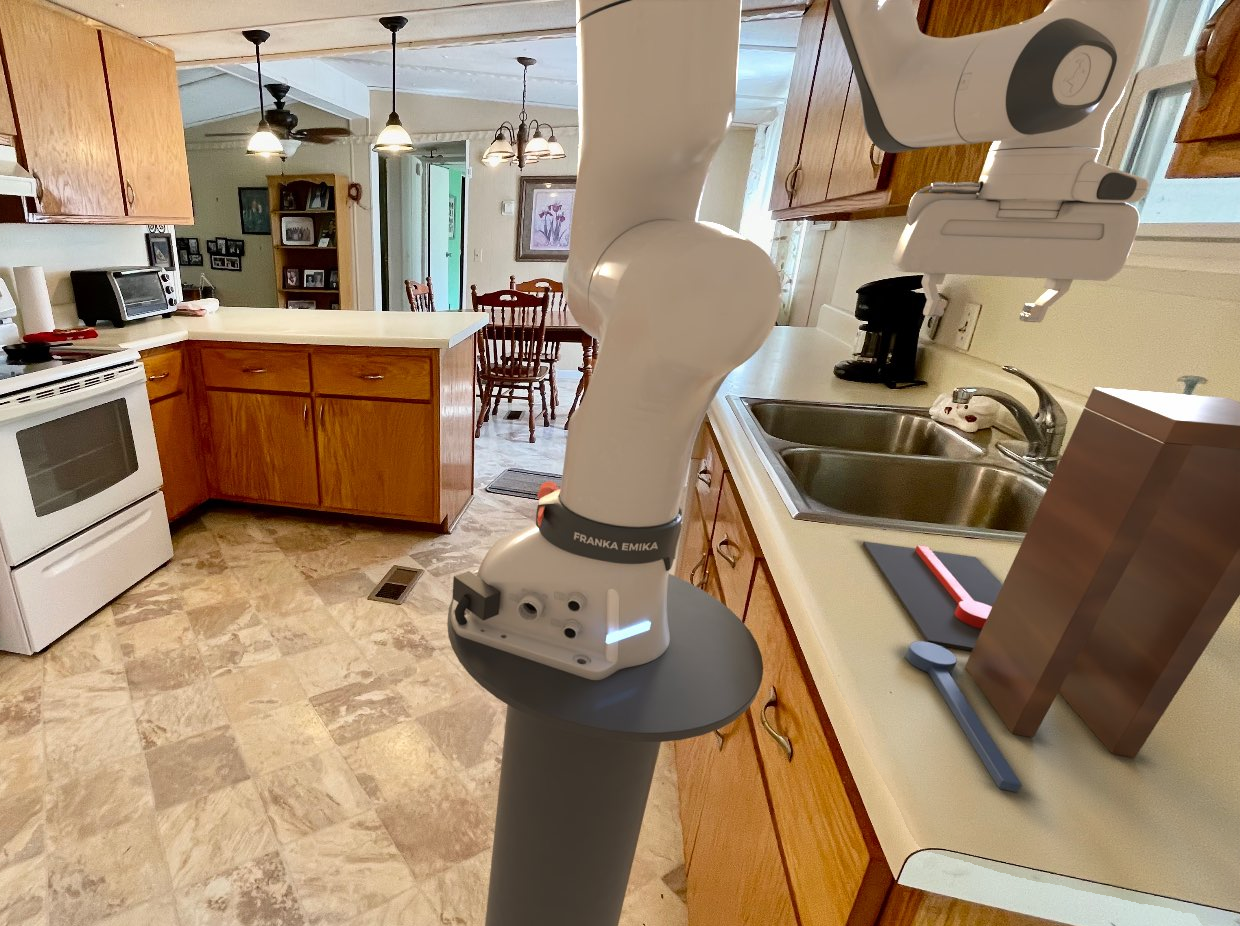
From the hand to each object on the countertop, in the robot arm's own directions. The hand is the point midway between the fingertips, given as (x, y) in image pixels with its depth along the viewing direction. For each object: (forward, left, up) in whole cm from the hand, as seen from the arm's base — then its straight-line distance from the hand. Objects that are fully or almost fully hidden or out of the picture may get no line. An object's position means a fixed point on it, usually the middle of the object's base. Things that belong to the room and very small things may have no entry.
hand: (980, 318), depth 75 cm
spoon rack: (0, -35, -27) cm, 45 cm away
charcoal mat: (0, -17, -27) cm, 32 cm away
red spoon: (0, -15, -27) cm, 31 cm away
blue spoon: (-7, -38, -27) cm, 47 cm away
